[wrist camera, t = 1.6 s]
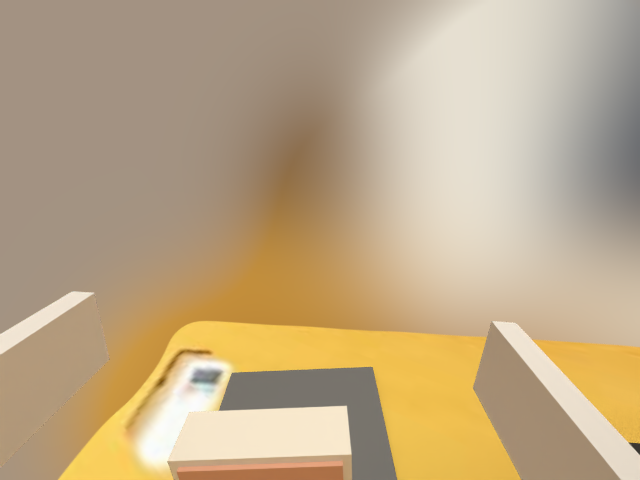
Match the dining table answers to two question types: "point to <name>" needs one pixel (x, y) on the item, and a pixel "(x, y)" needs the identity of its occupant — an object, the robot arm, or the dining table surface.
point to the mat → (323, 391)
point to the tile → (264, 445)
